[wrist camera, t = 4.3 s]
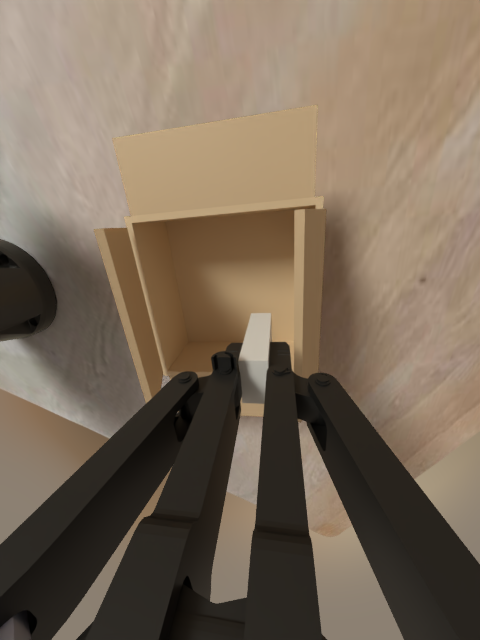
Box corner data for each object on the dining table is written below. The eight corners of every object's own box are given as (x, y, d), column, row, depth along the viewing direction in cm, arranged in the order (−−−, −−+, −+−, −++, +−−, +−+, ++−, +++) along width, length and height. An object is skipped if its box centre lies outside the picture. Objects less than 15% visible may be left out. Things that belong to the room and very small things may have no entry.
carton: (192, 376, 39) (173, 412, 31) (150, 160, 27) (104, 139, 20) (305, 377, 36) (313, 418, 29) (312, 137, 24) (327, 102, 17)
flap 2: (312, 373, 25) (293, 420, 20) (318, 209, 19) (294, 209, 14) (318, 374, 25) (301, 422, 19) (326, 208, 19) (304, 208, 13)
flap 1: (158, 373, 28) (149, 416, 22) (120, 228, 22) (93, 229, 15) (163, 371, 28) (156, 414, 22) (127, 227, 22) (103, 228, 16)
